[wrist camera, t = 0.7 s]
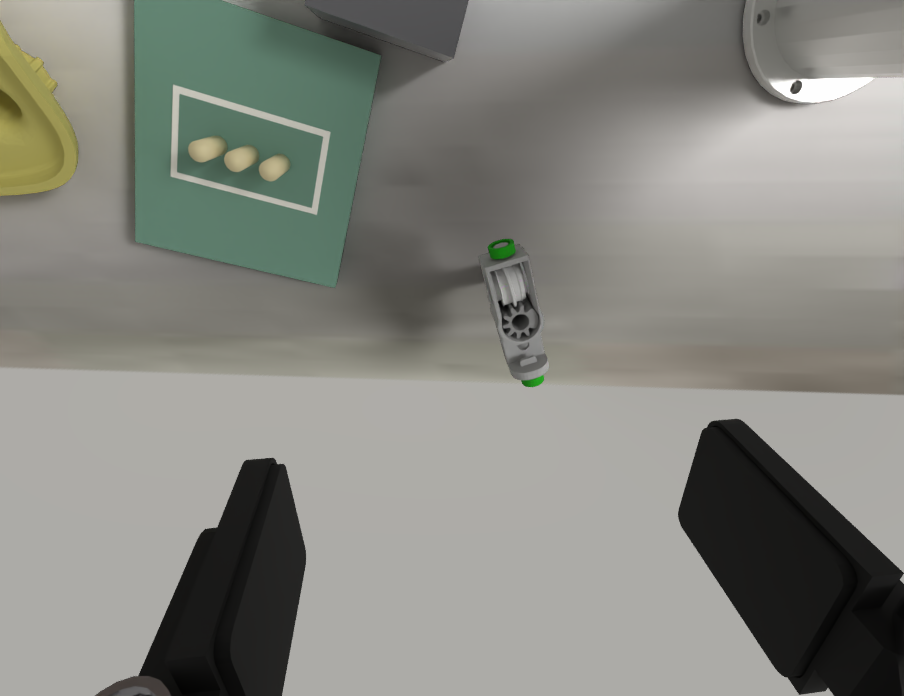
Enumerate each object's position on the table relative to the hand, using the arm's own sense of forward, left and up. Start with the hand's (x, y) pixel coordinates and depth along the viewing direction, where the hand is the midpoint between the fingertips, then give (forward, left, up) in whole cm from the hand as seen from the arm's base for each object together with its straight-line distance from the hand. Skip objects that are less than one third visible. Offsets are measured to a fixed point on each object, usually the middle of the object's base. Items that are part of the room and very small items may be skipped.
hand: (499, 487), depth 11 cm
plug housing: (-11, -5, -29) cm, 32 cm away
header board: (0, -12, -29) cm, 32 cm away
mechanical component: (+4, +7, -29) cm, 30 cm away
